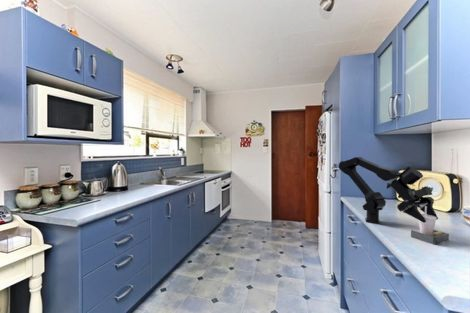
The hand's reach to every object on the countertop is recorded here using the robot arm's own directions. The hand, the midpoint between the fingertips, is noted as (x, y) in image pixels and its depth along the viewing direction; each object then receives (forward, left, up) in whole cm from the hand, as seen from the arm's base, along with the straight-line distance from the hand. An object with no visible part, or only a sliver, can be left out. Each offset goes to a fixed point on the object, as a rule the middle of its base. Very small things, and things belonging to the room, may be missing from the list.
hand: (431, 220), depth 95 cm
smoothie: (-1, -1, -8) cm, 8 cm away
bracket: (-1, -1, -8) cm, 8 cm away
